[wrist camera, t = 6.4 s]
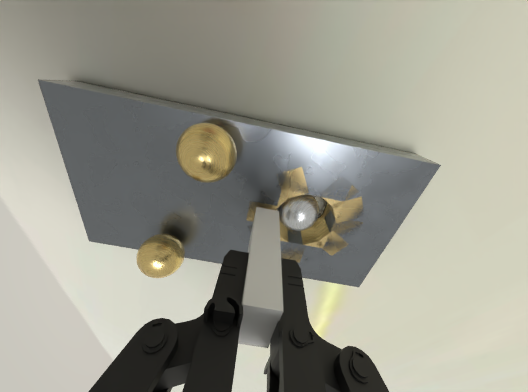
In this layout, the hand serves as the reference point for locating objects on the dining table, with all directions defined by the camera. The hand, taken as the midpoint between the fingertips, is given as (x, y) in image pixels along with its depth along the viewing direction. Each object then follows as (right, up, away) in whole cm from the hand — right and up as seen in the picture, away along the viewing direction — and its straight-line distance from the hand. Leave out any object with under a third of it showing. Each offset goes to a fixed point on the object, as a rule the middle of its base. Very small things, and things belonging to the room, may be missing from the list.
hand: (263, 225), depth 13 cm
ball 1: (-8, -2, +1) cm, 8 cm away
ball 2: (-3, +4, -3) cm, 6 cm away
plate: (-2, +2, +3) cm, 4 cm away
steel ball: (+3, +1, +2) cm, 3 cm away
